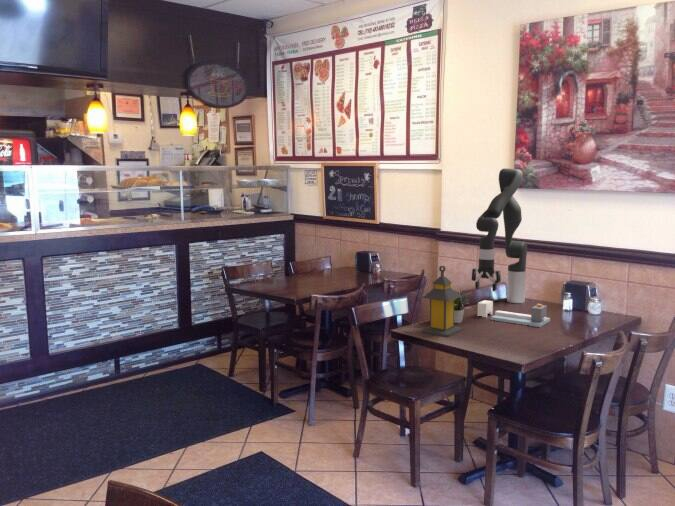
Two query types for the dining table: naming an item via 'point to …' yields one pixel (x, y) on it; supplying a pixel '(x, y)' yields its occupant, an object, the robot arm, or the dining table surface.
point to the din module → (485, 308)
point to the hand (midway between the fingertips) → (485, 290)
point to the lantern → (442, 307)
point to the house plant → (457, 310)
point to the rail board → (518, 321)
